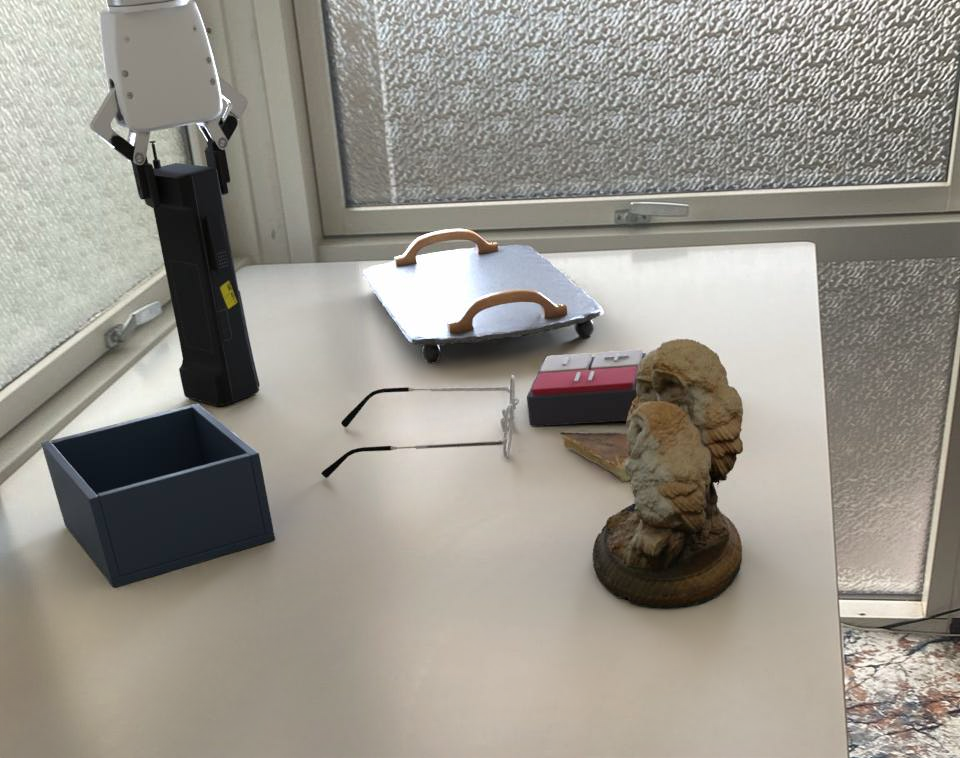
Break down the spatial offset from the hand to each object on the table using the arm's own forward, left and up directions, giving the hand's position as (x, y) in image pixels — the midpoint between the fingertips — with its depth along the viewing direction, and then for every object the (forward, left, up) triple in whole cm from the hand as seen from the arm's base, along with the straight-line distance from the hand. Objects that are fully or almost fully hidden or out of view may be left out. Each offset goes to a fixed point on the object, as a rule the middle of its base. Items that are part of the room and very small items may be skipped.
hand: (186, 197), depth 134 cm
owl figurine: (+15, -63, -20) cm, 67 cm away
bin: (-17, -31, -20) cm, 41 cm away
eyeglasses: (+11, -28, -20) cm, 36 cm away
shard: (+22, -44, -20) cm, 53 cm away
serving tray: (+35, +7, -20) cm, 41 cm away
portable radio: (0, 0, -20) cm, 20 cm away
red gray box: (+30, -31, -20) cm, 48 cm away
